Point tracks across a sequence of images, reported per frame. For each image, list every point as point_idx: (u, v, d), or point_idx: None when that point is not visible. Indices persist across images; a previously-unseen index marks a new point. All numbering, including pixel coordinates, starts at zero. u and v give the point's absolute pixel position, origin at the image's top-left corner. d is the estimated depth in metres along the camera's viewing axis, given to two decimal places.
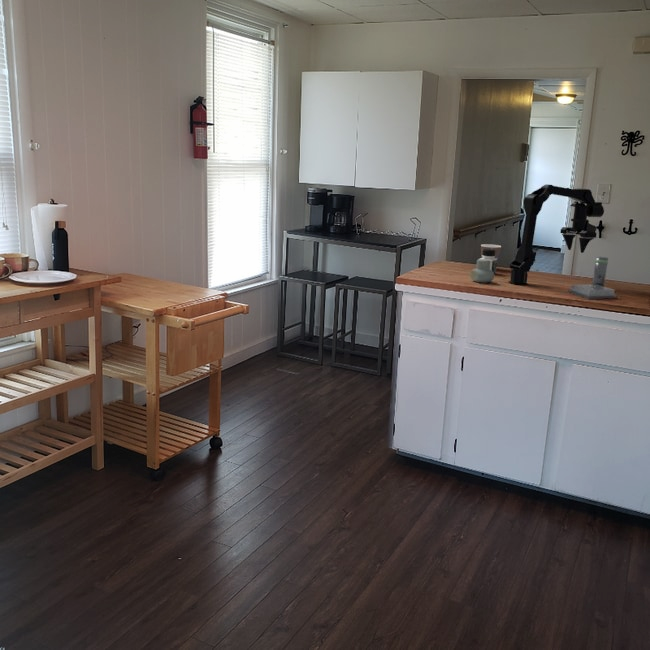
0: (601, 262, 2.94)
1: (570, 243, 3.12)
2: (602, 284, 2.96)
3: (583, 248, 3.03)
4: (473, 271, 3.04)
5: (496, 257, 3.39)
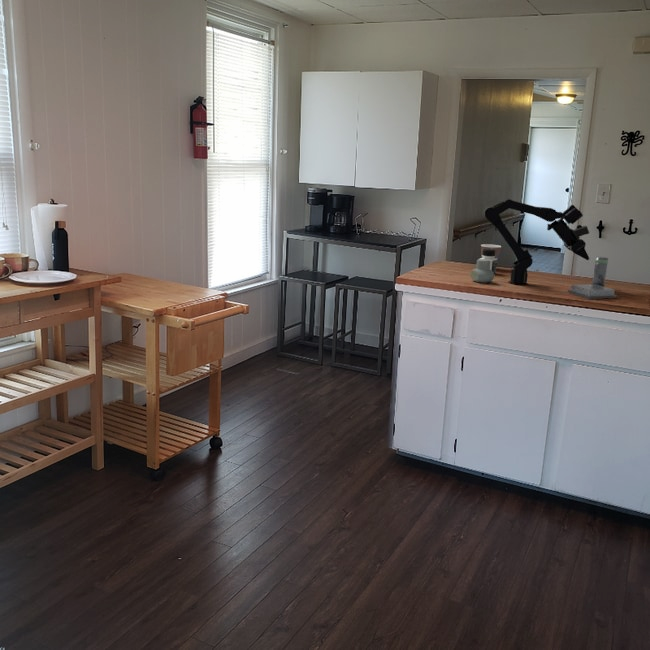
0: (601, 262, 2.94)
1: None
2: (602, 284, 2.96)
3: (585, 256, 2.92)
4: (473, 271, 3.04)
5: (496, 257, 3.39)
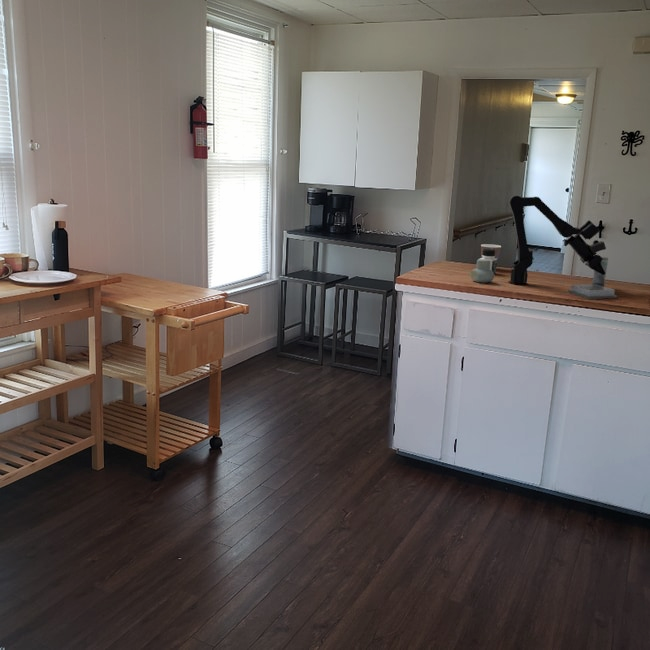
0: (601, 262, 2.94)
1: None
2: (602, 284, 2.96)
3: (601, 271, 2.94)
4: (473, 271, 3.04)
5: (496, 257, 3.39)
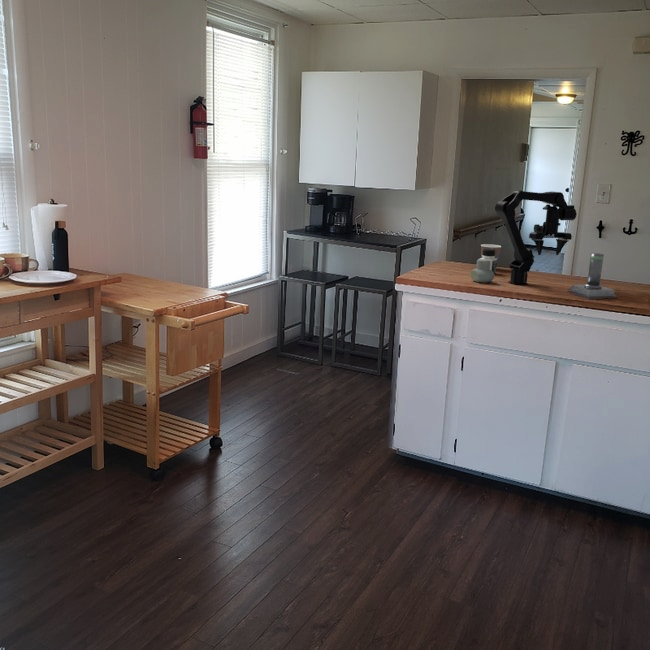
0: (593, 258, 2.78)
1: None
2: (594, 282, 2.79)
3: None
4: (473, 271, 3.04)
5: (496, 257, 3.39)
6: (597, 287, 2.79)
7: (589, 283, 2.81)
